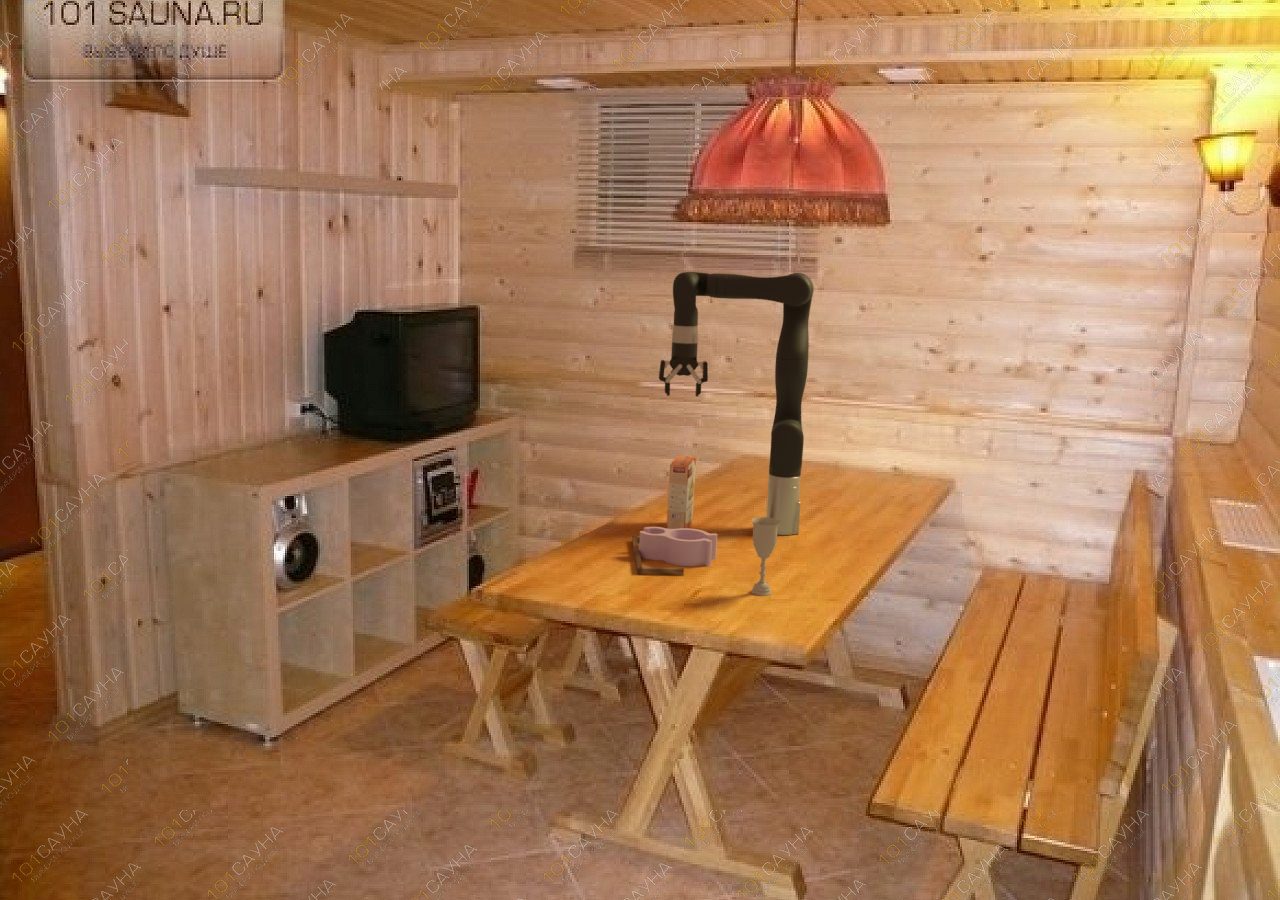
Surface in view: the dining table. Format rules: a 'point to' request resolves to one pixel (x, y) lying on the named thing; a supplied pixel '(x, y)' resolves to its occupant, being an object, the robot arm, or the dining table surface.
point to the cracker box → (681, 492)
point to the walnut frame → (651, 570)
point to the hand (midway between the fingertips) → (682, 395)
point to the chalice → (764, 548)
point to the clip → (678, 546)
